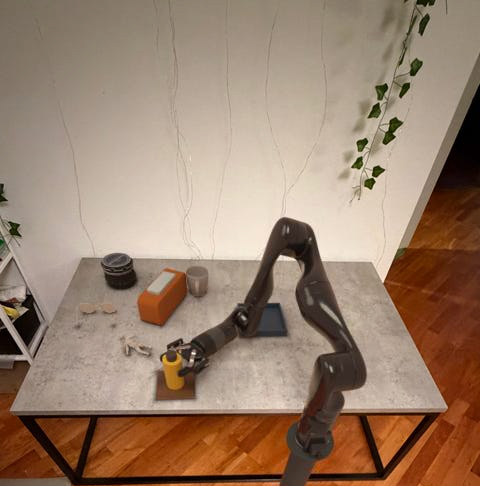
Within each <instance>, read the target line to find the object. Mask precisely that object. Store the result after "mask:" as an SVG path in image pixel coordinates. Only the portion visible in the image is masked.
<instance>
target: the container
mask: <svg viewBox="0 0 480 486" xmlns="http://www.w3.org/2000/svg"><path fill="white" fill-rule="evenodd" d="M100 266H101V268H102V271H103V273H104V280H105V282H106V283H107V284H108V285H109V287H110V288H112V289H115V290H125V289H129V288H131V287H133V286H134V285H135V284H136V281H137V280H136V277H137V273H136V271H135V269H134V267H135V266H134V259H133V258H132V257H131V256H130V255H129V254H128V253H123V252H112V253H108V254H106V255H105V256H103V257H102V259H101V262H100Z"/></svg>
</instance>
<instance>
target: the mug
mask: <svg viewBox="0 0 480 486" xmlns="http://www.w3.org/2000/svg"><path fill="white" fill-rule="evenodd" d="M185 274H186V281H187V287H188V288H189V290H190V292H191V294H192V296H193V297H202V296H204V295H205V293H206V290H207V288H208V285H209V270H208V269H207V268H206V266H202V265H191V266H189V267H188V268H187V269H186V271H185Z"/></svg>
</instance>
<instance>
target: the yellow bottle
mask: <svg viewBox="0 0 480 486" xmlns="http://www.w3.org/2000/svg"><path fill="white" fill-rule="evenodd" d="M165 352H166V354H165V355H164V356H163V358H162V361H163V362H162V366H163V371H164V372H165V377H166V382H167V386H168V387H169V388H170V389H173V390H178V389H180V388H182V387H183V386H184V377H178V375H177V372H178V371H179V370H180V369H182V368H184V367H183V358H182V357H181V356H180V355H179V354H178V353H176V351H174V350H169V351H167V350H166V351H165Z"/></svg>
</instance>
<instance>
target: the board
mask: <svg viewBox="0 0 480 486" xmlns="http://www.w3.org/2000/svg"><path fill="white" fill-rule="evenodd" d="M195 388H196V387H195V374H194V373H193V372H192V373H188V374H187V375H185V376H184V386H183V387H182V388H180V389H178V390H173V389H170V388H169V387H168V386H167V382H166V377H165V372H164V370H157V377H156V388H155V389H156V390H155V401H168V400H169V401H171V400H173V401H174V400H176V401H177V400H195V399H196V397H195V395H196V394H195V390H196V389H195Z"/></svg>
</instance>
